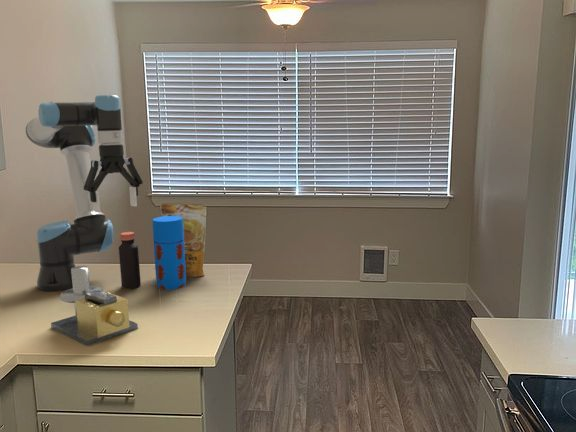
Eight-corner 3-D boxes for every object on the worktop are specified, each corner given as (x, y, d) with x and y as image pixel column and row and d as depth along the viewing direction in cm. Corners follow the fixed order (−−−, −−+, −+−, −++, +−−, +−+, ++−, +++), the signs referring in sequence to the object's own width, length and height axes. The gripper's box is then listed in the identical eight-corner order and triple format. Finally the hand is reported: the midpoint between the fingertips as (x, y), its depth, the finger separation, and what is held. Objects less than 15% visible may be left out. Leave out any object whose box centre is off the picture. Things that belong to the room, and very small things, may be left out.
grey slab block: (87, 324, 161) (84, 293, 159) (99, 320, 164) (96, 289, 162) (106, 332, 155) (103, 300, 153) (118, 327, 158) (116, 296, 156)
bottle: (133, 289, 198) (129, 235, 195) (117, 288, 201) (113, 234, 197) (144, 284, 205) (140, 231, 201) (128, 282, 207) (124, 230, 203)
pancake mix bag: (167, 270, 222) (163, 202, 217) (211, 273, 217) (208, 203, 212) (159, 275, 215) (154, 205, 210) (204, 278, 211) (201, 206, 206)
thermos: (172, 291, 196) (167, 222, 191) (150, 287, 201) (145, 220, 197) (192, 283, 205) (189, 217, 200) (171, 279, 210) (167, 215, 206)
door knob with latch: (49, 326, 165) (43, 270, 162) (98, 311, 177) (93, 259, 173) (94, 349, 148) (88, 287, 145) (144, 331, 160) (140, 273, 157)
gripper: (80, 146, 165) (86, 215, 169) (150, 142, 184) (154, 204, 188) (68, 146, 170) (74, 213, 174) (137, 141, 189) (141, 202, 193)
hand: (116, 209), depth 181 cm, fingers open, 13 cm apart
